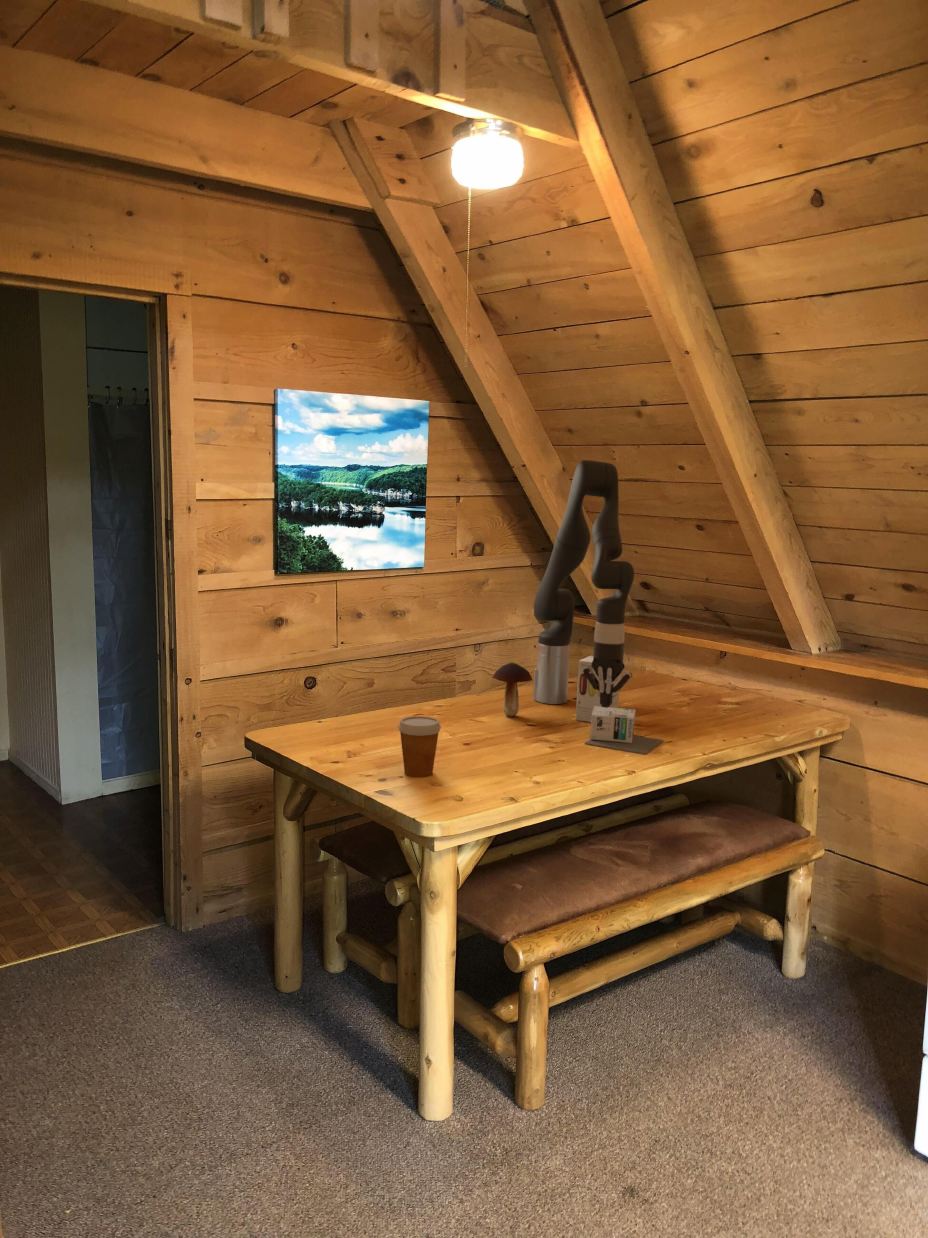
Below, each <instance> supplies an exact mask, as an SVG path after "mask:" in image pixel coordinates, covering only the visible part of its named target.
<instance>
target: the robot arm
mask: <svg viewBox="0 0 928 1238" xmlns="http://www.w3.org/2000/svg"><path fill="white" fill-rule="evenodd" d="M585 496H589V497H596V498H597V497H598V498H603V501H604V506H603V508H602V509H601V511H600V512H599V514H598V516H597V517H596V519H595V521H594V523H593V525H592V530H591V531H592V535H591V532H590V527H589V525H588V522H587V520H586V517H585V515H584V510H583V503H584V498H585ZM619 499H620V498H619V474H618V470H617V467H616V466H615V464H613V463H610V462H604V461H596V460H588V459H583V460H580V461H579V462H578V464H577V465H576V467H575V470H574V473H573V476H572V481H571V486H570V491H569V494H568V499H567V504H566V506H565V510H564V514H563V518H562V520H561V523H560V526H559V529H558V532H557V534H556V537H555V541H554V544H553V549H552V550H551V551H552V552H551V555H550V558H549V562H548V564H547V568H546V570H545V572H544V576H543V578H542V579H541V582H540V584H539V587H538V589H537V592H536V594H535V596H534V602H533V613H534V616H535V618H536V619H537V620H539V621H541V622H542V621H543V622H554V623H553V624H552V625H551V626H550V627H548V628H547V629H546V630H543V631H541V632H540V633H539V634H538V645H537V666H536V667H535V668H534V674H533V675H534V676H533V695H532V696H533V697H532V698H533V701H536V702H539V703H541V704H542V703H543V704H548V705H549V704H550V705H558V704H559V705H560V704H565V703H567V702H568V694H569V692H568V690H569V673H570V671H569V670H570V648H571V647H570V646H571V638H572V634H573V625H574V615H575V597H574V594H573V592H572V591H571V590H570V589H568V588H560V586H561V584H562V583H563V582H564V581H565V579H567V578H569V576H570V575H571V574H572V573H573V572H574V571H576V569H577V568H579V566H580V565H581V564H582V563H583V561H584V559H585V557H586V556H587V552H588V549H589V547H590V543H591V539H592V543H593V549H594V558H593V566H592V568H591V569H592V570H591V575H590V576H591V577H590V578H591V579H590V580H591V583H592V584H593V586H594V587H596V589H599V590H616V591H615V593H614V594H613V595H612V596H609V597H604V598H601V599H598V600H597V603H596V614H595V615H596V619H595V627H594V634H593V640H594V641H593V654H592V656H593V661H592V663H591V666H589V667H588V668H585V669H584V670H583V673H584V674H585V676H586V677H587V679H588V680H589V682H590V684H591V685H592V687H593V688H594V689H597V690H599V691H600V705H602V707H605V708H608V707H610V705H612V698H613V692H617V691H619V692H620V690H621V689H622V688H623V687H624V685H626V684H627V683H628V682H629V681H630V679H631V678H633V674H632V673H631V672H628V671H627V670H626V669H625V664H624V652H625V635H626V634H625V633H626V632H625V630H626V629H625V617H626V613H625V612H626V605H627V601H628V597H629V594H630V591H631V588H632V586H633V583H634V579H635V569H634V566H633V565H632V563H630V562H629V561H625V560H624V561H623V560H618V559H619V558H620V557H621V556H622V554H623V543H622V537H621V533H620V526H619V525H620V523H619ZM591 536H592V538H591ZM594 671H595V673H596V674H597V676H598V677H599V681H598V679H597V678H596V676H595V675H594ZM619 675H620V681H619V682H618V683H617V684H616V686H615V687H614V684H615V680H616V678H617V677H618V676H619Z"/></svg>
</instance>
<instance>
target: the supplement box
mask: <svg viewBox="0 0 928 1238" xmlns="http://www.w3.org/2000/svg"><path fill="white" fill-rule="evenodd" d="M592 661H593V655H588V656H586V657H585V658H582V659H580V660H579V661H578V674H577V675H578V676H577V689H576V706H575V721H581V722H587V723H591V718H592V713H593V710H594V707H595V706H599V707H602V705H600V691H599V690H597V689H594V688H593V687H592V685H591V684H590V682H589V680H588V679H587V677H586V676H585V674H584V673H583V670H584V669H585V668H588V667H589V666H591V663H592ZM594 675H595V676H596V678H597V679H598V681H599V677H598V676H597V674H596V673H595V671H594ZM620 680H621V674H620V675H619V676H618V677H617V678H616V680H615V684H614V687H615V686H616V684H617V683H618V682H619V681H620ZM619 701H620V690H619V691H617V692H613V698H612V705H610V708H619V704H620V703H619Z"/></svg>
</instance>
